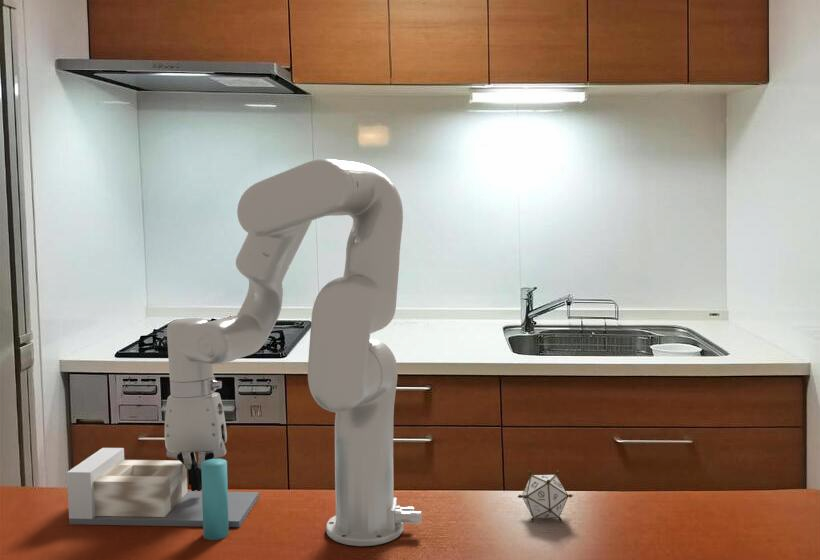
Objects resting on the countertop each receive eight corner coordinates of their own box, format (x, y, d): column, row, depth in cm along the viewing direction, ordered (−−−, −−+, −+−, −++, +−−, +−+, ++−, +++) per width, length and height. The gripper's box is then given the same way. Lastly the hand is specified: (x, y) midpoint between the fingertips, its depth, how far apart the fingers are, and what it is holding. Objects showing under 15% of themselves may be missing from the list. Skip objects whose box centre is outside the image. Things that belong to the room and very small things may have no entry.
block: (187, 492, 137) (186, 460, 136) (164, 516, 126) (163, 482, 125) (123, 491, 137) (121, 459, 137) (95, 515, 126) (93, 481, 126)
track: (259, 497, 137) (258, 449, 136) (239, 527, 124) (238, 474, 123) (104, 495, 139) (102, 447, 138) (69, 524, 126) (66, 472, 125)
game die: (549, 535, 129) (575, 484, 132) (560, 538, 121) (588, 483, 123) (503, 508, 130) (530, 457, 133) (511, 509, 122) (540, 455, 124)
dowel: (231, 529, 123) (229, 458, 122) (224, 540, 119) (222, 467, 118) (208, 529, 124) (205, 458, 122) (200, 539, 120) (197, 466, 118)
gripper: (239, 382, 136) (245, 480, 138) (159, 384, 137) (166, 481, 139) (227, 392, 129) (233, 495, 130) (142, 393, 130) (149, 496, 131)
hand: (198, 488), depth 135 cm, fingers closed
